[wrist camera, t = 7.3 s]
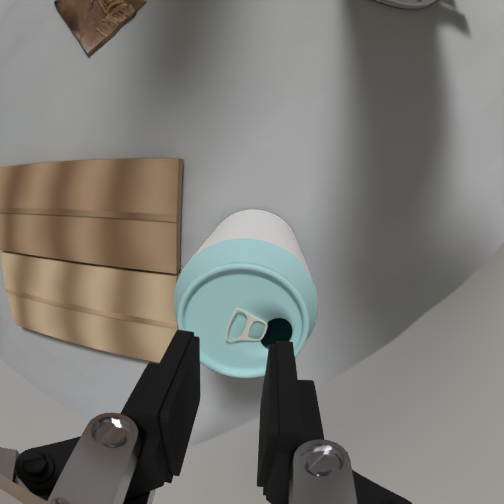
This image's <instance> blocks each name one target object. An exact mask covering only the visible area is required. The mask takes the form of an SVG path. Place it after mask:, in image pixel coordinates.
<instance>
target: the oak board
mask: <svg viewBox="0 0 504 504" xmlns="http://www.w3.org/2000/svg"><path fill="white" fill-rule="evenodd" d="M0 256H1V263H2V269H3V275H4V280H5V286H6V292H7V295H8V300H9V304H10V308H11V313H12V317H13V320H14V324H16V325H19V326H22V327H24V328H27V329H30V330H33V331H36V332H39V333H42V334H45V335H48V336H52V337H55V338H58V339H62V340H65V341H68V342H72V343H76V344H79V345H83V346H87V347H90V348H94V349H98V350H102V351H106V352H111V353H115V354H119V355H124V356H128V357H133V358H138V359H143V360H148V361H153V362H158V363H160V361H161V359H162V357H163V355H164V353H165V351H166V350H167V348H168V346H169V344H170V342H171V340H172V338H173V336H174V334H175V332H176V331H177V330H179V329H178V324H177V320H176V316H175V311H174V292H175V287H176V283H177V280H178V278H179V276H180V272H177V274H174V273H165V272H156V271H147V270H139V269H131V268H122V267H114V266H107V265H99V264H91V263H84V262H77V261H69V260H62V259H55V258H48V257H42V256H35V255H28V254H22V253H15V252H9V251H3V252H0Z"/></svg>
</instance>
